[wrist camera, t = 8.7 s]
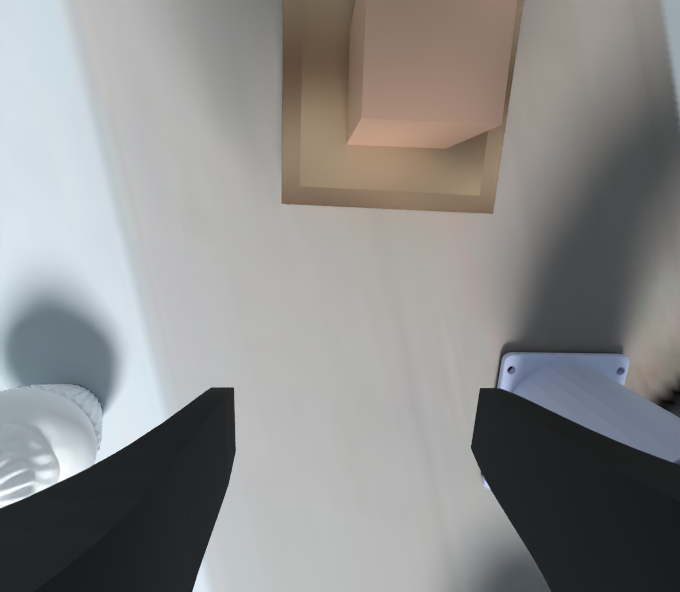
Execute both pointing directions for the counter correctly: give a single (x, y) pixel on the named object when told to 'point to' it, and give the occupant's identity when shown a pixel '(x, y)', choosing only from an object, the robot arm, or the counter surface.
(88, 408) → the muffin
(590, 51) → the counter surface
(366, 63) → the peach tan block
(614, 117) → the counter surface
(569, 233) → the counter surface
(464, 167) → the tan brown tray
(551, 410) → the robot arm
